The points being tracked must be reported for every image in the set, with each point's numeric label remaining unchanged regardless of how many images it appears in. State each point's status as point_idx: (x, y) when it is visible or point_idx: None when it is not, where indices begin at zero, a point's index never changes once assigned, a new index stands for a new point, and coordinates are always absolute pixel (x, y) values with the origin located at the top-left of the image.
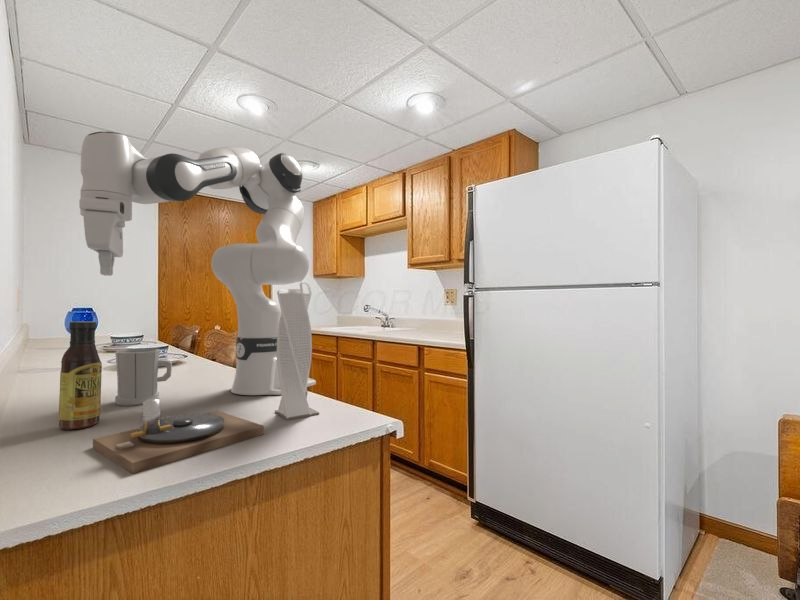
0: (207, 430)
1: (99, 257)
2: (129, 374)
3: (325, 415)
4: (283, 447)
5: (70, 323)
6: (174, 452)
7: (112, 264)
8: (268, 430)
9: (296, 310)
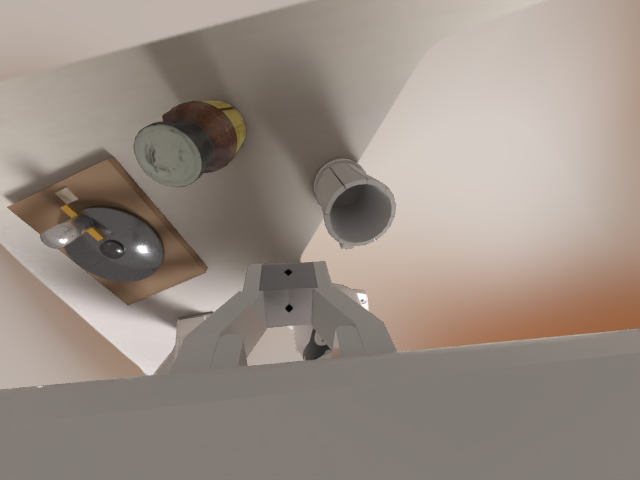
0: (84, 268)
1: (186, 341)
2: (323, 191)
3: None
4: (87, 308)
5: (144, 127)
6: None
7: (321, 337)
8: (145, 303)
9: None
